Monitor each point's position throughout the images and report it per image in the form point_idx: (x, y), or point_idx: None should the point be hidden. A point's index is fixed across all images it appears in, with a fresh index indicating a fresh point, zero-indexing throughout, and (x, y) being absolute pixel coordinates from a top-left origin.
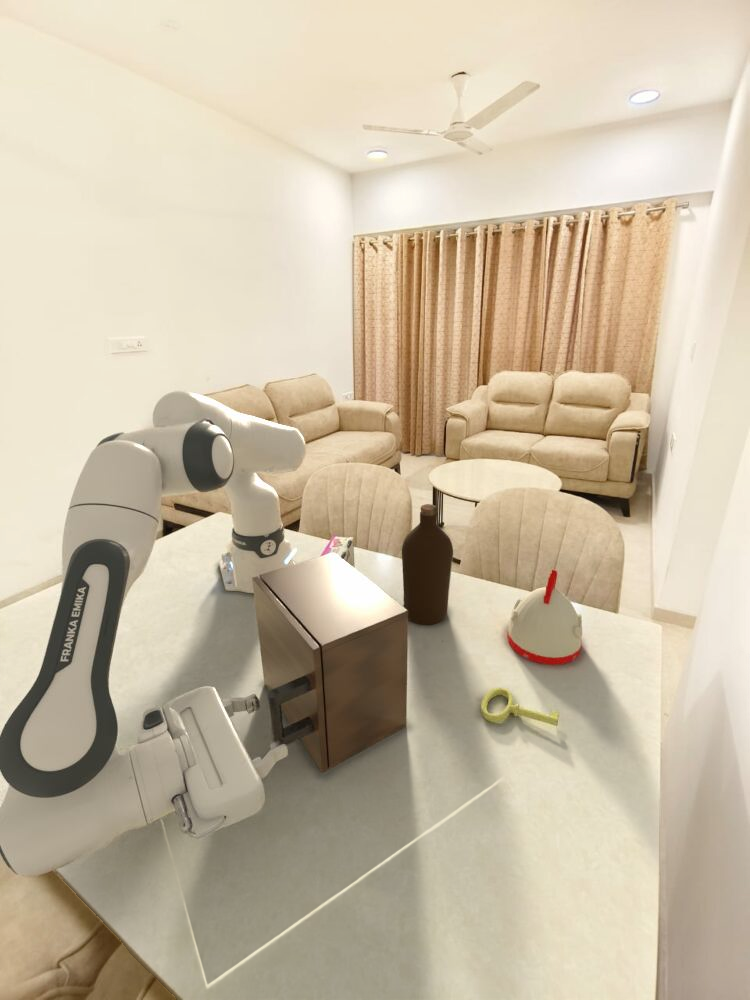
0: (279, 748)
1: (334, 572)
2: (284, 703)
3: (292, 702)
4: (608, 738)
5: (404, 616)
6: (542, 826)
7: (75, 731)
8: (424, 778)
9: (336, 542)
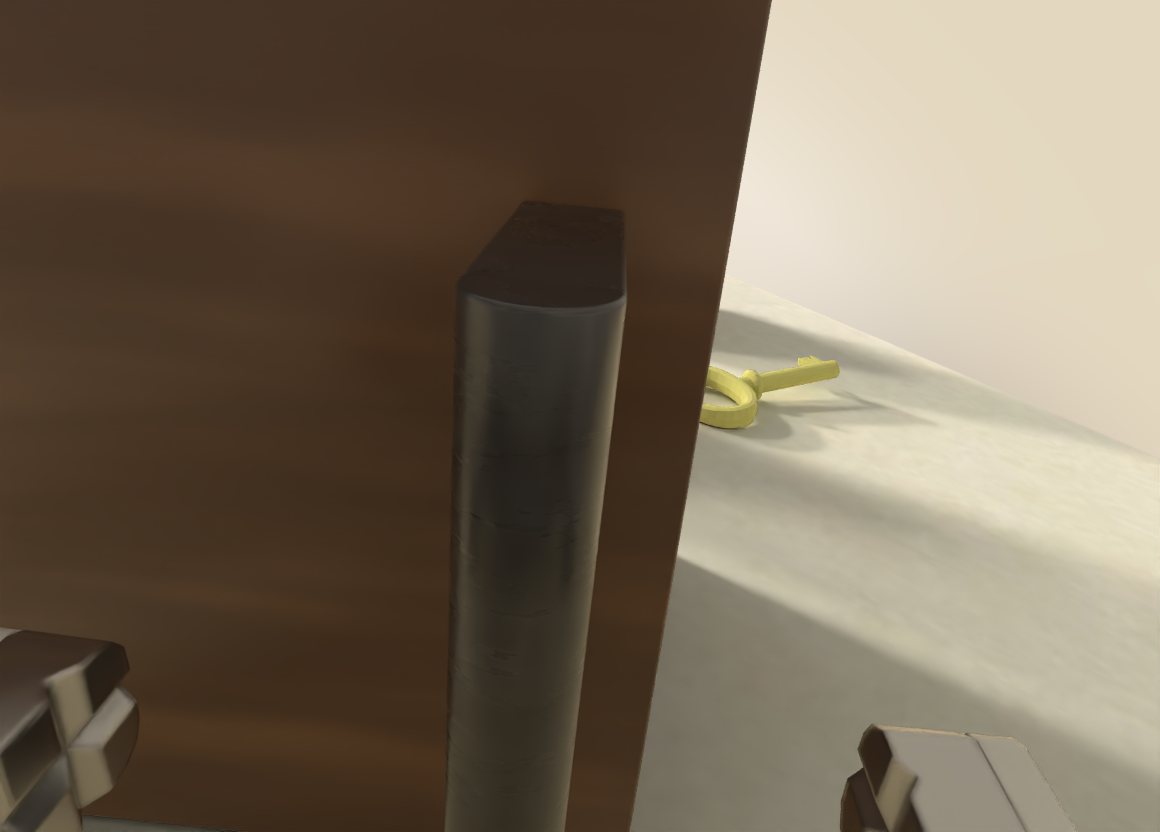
0: (1056, 799)
1: None
2: None
3: (220, 639)
4: (885, 372)
5: None
6: (1092, 524)
7: None
8: (851, 603)
9: None
